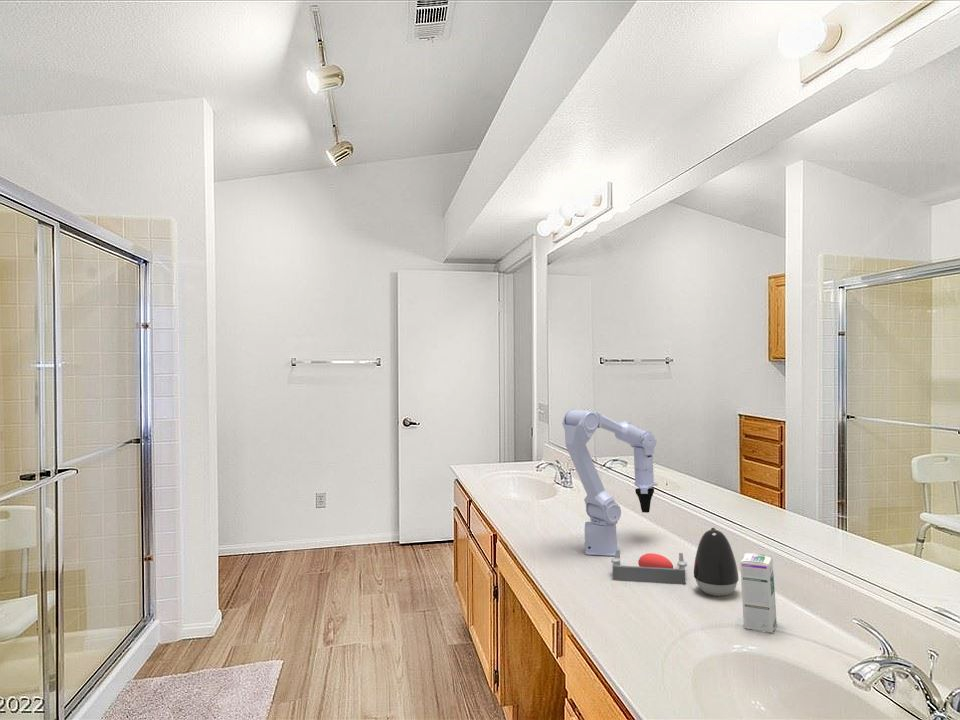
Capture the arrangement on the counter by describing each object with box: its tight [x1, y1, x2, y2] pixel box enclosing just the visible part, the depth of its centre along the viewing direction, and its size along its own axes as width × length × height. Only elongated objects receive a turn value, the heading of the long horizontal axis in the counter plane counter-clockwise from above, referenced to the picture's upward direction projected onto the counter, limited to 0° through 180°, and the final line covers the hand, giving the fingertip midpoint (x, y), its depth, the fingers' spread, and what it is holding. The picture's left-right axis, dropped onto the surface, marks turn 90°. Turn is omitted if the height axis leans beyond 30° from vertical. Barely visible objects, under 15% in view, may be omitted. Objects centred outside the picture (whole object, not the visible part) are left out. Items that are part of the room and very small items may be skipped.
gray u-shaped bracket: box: [610, 549, 688, 585], centre depth 162 cm, size 19×14×4 cm
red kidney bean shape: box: [637, 552, 674, 568], centre depth 163 cm, size 5×9×6 cm, turn 40°
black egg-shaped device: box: [693, 527, 739, 597], centre depth 147 cm, size 10×10×15 cm
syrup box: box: [739, 552, 778, 634], centre depth 128 cm, size 6×6×14 cm
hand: (645, 512), depth 189 cm, fingers closed
